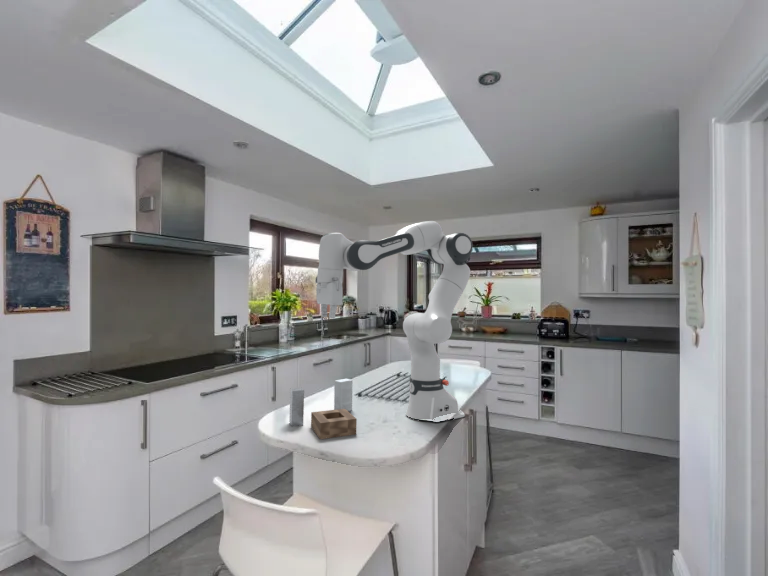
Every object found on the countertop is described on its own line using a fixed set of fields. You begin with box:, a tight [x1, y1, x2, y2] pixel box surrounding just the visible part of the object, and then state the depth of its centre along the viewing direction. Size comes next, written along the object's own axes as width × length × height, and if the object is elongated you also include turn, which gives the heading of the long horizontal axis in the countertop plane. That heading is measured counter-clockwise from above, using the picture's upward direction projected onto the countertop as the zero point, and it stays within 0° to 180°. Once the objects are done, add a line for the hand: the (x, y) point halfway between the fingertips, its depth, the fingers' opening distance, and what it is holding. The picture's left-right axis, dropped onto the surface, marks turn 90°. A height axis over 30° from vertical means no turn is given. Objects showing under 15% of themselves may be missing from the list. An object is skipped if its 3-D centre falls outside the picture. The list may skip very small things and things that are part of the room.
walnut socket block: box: [310, 409, 358, 440], centre depth 125 cm, size 12×12×5 cm
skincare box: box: [333, 378, 353, 412], centre depth 147 cm, size 6×4×12 cm
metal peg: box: [288, 387, 305, 427], centre depth 131 cm, size 4×4×12 cm
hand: (327, 317), depth 131 cm, fingers open, 8 cm apart
